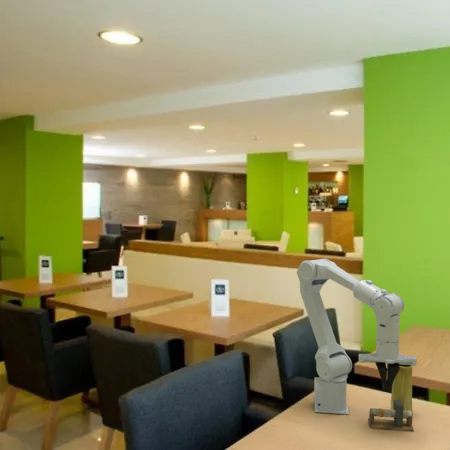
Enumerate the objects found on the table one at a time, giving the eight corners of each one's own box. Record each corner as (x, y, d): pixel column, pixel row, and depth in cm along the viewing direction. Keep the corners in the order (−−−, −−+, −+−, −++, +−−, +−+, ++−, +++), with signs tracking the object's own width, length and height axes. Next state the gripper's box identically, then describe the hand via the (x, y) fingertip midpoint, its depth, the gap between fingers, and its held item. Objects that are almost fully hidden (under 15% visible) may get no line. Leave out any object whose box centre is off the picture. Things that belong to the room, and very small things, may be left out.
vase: (409, 409, 145) (410, 361, 144) (415, 418, 139) (416, 368, 138) (388, 408, 146) (389, 360, 145) (393, 417, 140) (394, 367, 139)
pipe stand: (370, 428, 132) (370, 411, 132) (368, 420, 137) (368, 404, 137) (413, 431, 131) (414, 414, 131) (409, 423, 136) (409, 407, 136)
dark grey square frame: (396, 425, 132) (397, 406, 132) (393, 418, 136) (393, 399, 136) (402, 425, 131) (403, 406, 131) (399, 418, 136) (400, 400, 136)
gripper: (361, 342, 128) (360, 394, 129) (419, 345, 126) (418, 397, 127) (358, 335, 135) (357, 384, 136) (413, 338, 133) (412, 387, 134)
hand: (386, 390), depth 132 cm, fingers closed
